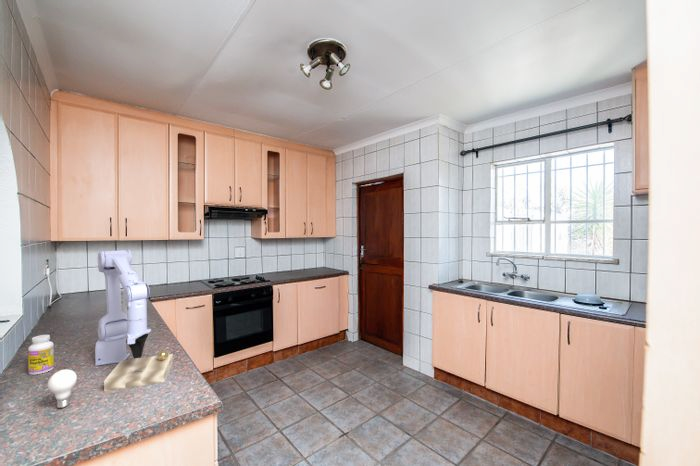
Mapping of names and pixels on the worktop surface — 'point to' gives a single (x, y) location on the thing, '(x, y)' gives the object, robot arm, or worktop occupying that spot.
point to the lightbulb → (62, 386)
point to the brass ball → (162, 355)
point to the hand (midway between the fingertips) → (137, 357)
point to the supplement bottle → (40, 355)
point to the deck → (150, 373)
